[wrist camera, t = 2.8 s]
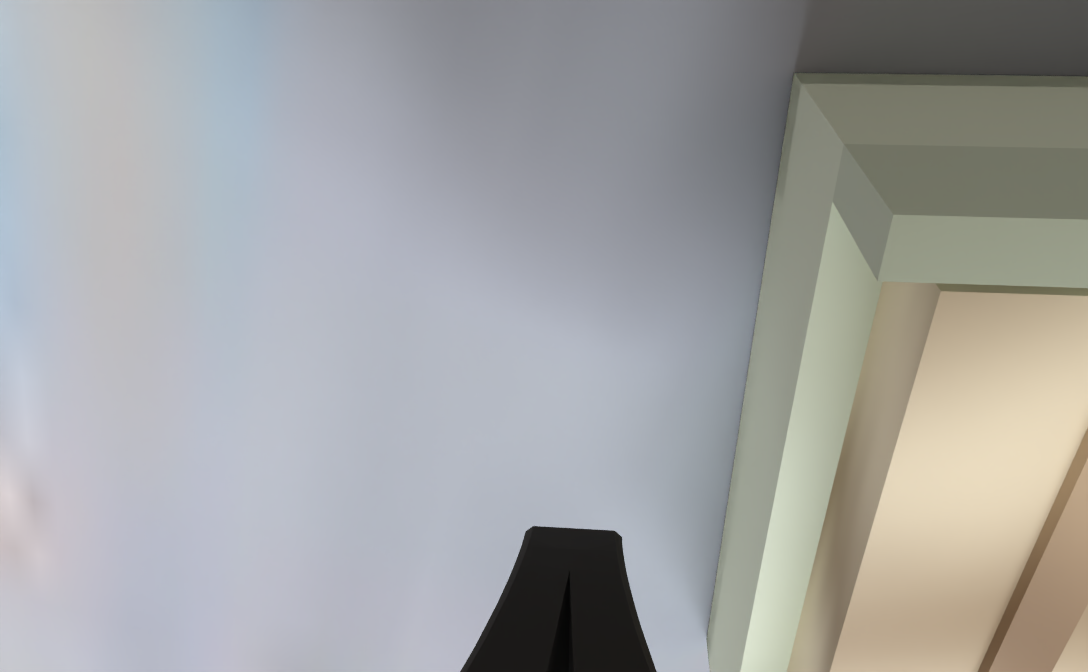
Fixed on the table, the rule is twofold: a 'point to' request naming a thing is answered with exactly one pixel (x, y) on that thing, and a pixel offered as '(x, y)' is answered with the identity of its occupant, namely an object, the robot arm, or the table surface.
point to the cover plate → (959, 490)
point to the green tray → (876, 289)
